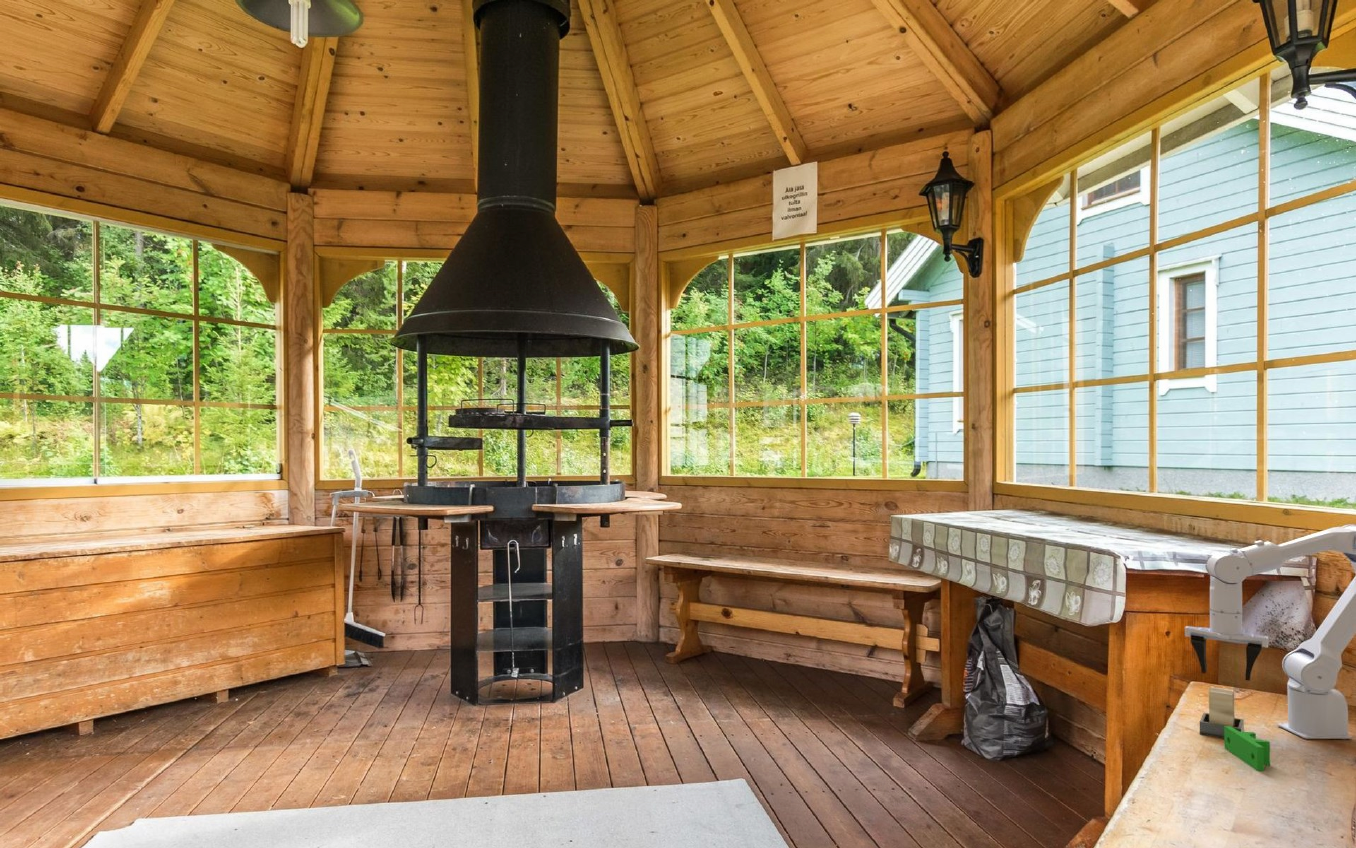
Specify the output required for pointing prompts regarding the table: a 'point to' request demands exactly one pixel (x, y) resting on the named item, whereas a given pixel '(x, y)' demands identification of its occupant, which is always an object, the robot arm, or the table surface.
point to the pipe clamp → (1247, 747)
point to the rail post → (1221, 706)
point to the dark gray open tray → (1217, 726)
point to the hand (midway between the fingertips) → (1225, 676)
